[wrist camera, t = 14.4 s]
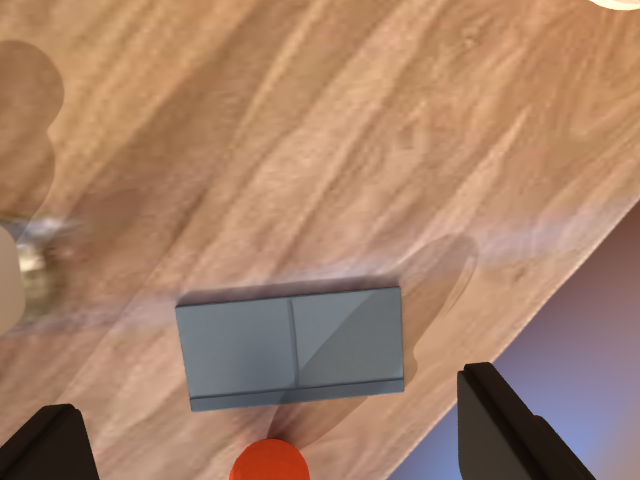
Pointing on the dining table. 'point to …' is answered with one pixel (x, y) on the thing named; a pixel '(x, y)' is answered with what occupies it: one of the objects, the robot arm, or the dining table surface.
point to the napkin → (292, 348)
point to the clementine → (270, 462)
